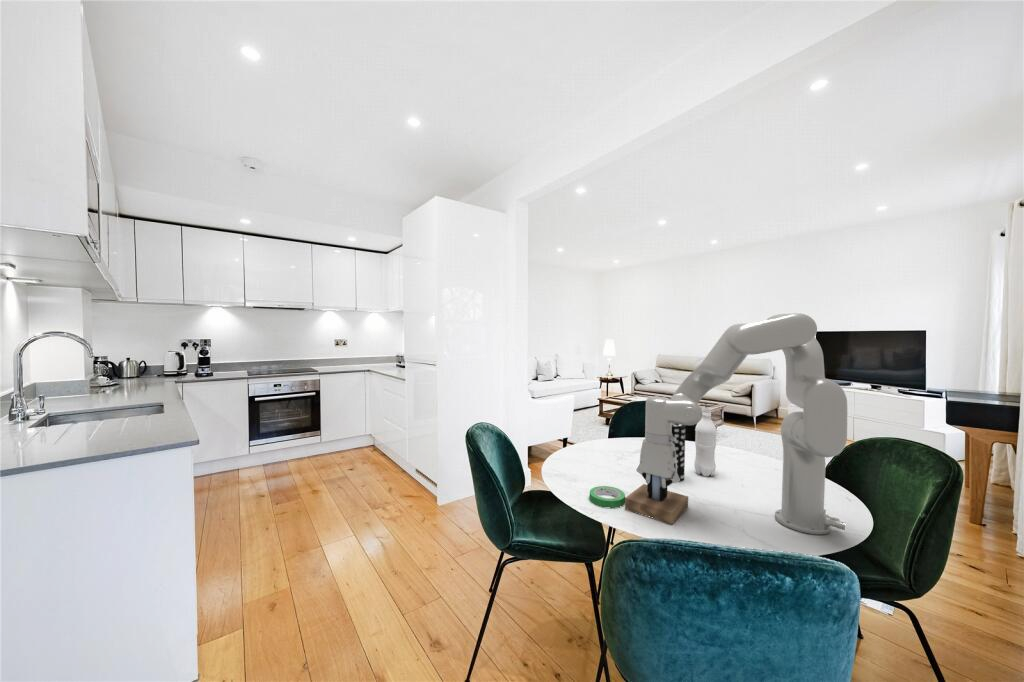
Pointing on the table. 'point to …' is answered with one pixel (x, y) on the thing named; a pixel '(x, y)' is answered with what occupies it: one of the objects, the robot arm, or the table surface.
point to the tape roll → (607, 501)
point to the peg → (656, 487)
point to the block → (657, 505)
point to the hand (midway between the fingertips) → (657, 496)
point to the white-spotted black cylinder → (679, 448)
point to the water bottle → (705, 444)
